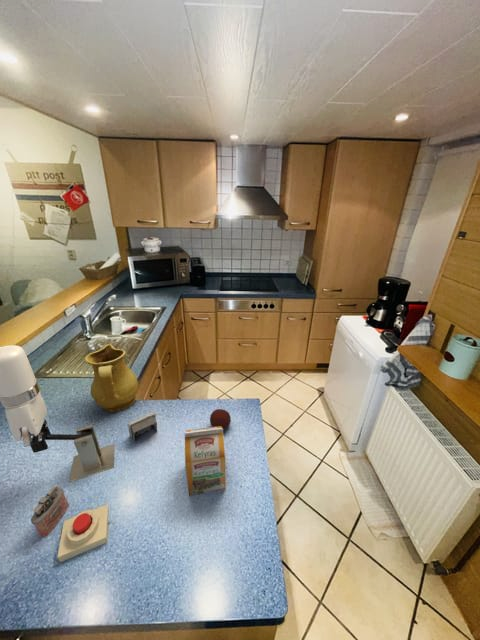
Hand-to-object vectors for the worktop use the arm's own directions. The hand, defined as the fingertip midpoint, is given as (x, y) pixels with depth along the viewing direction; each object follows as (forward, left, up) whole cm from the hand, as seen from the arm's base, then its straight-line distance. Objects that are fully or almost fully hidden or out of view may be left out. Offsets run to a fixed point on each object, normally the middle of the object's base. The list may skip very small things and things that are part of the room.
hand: (42, 443), depth 70 cm
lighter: (+2, -14, -14) cm, 20 cm away
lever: (+4, 0, -1) cm, 4 cm away
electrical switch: (+26, +5, -14) cm, 30 cm away
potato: (+52, -1, -14) cm, 54 cm away
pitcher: (+16, +27, -14) cm, 34 cm away
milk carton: (+42, -17, -14) cm, 47 cm away
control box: (+10, -20, -14) cm, 26 cm away
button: (+10, -20, -10) cm, 25 cm away
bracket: (+10, 0, -14) cm, 17 cm away
